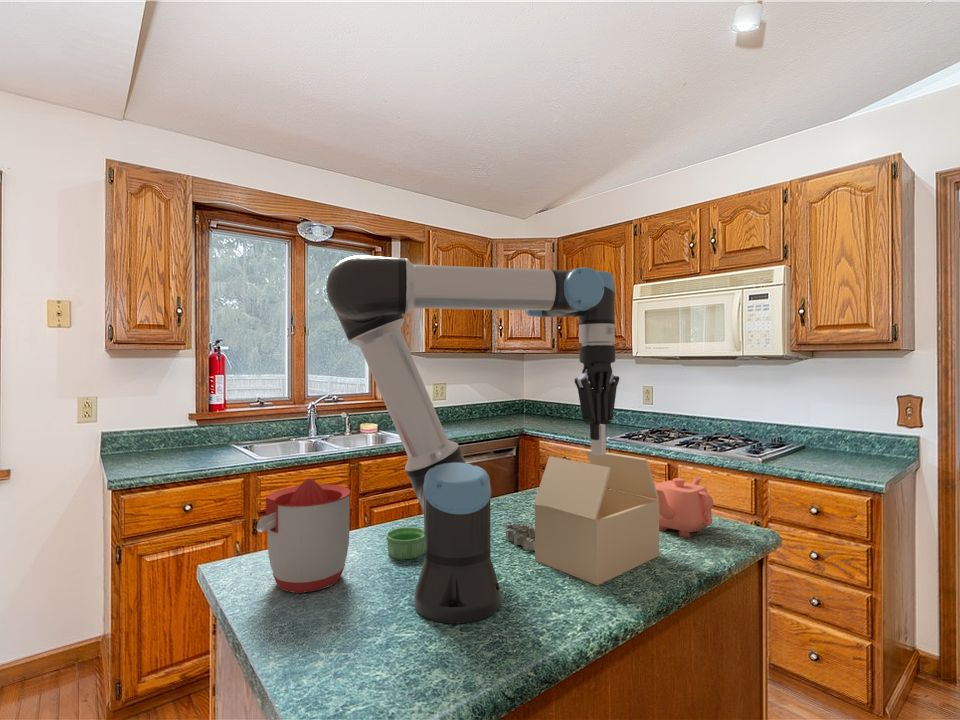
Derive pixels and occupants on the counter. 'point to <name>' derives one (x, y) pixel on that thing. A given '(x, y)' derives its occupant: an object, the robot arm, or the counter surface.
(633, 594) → the counter surface
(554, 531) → the carton
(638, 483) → the far flap
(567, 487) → the near flap
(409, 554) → the ramekin
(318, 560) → the citrus juicer
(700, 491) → the teapot
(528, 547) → the egg carton
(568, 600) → the counter surface
